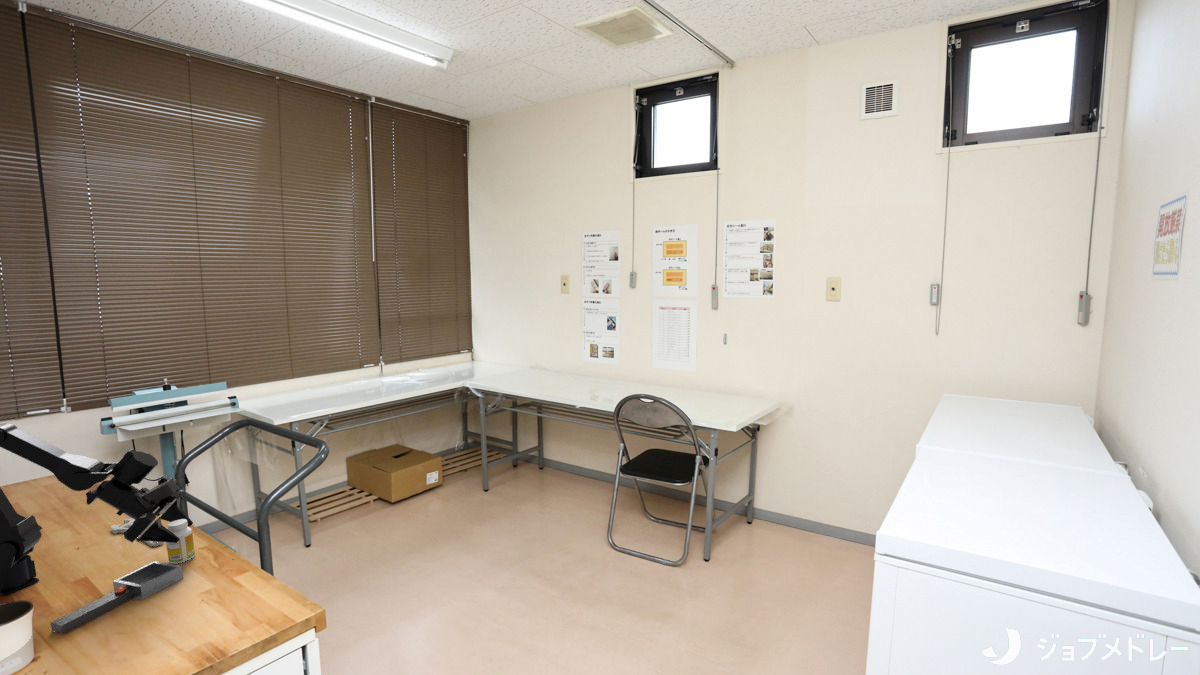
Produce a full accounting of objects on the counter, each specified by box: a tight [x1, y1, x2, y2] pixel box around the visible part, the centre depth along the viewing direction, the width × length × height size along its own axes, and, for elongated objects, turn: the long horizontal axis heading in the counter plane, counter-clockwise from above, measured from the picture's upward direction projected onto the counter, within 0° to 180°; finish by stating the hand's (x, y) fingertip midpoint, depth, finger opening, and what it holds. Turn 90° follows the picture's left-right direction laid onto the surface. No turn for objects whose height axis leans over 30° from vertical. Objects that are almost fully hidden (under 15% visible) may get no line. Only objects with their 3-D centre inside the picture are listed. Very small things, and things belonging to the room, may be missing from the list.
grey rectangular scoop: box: [50, 560, 184, 635], centre depth 124 cm, size 22×9×3 cm, turn 162°
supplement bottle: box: [165, 519, 196, 565], centre depth 141 cm, size 5×5×10 cm
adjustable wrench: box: [110, 517, 165, 547], centre depth 155 cm, size 25×6×2 cm, turn 54°
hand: (185, 532), depth 142 cm, fingers open, 9 cm apart
